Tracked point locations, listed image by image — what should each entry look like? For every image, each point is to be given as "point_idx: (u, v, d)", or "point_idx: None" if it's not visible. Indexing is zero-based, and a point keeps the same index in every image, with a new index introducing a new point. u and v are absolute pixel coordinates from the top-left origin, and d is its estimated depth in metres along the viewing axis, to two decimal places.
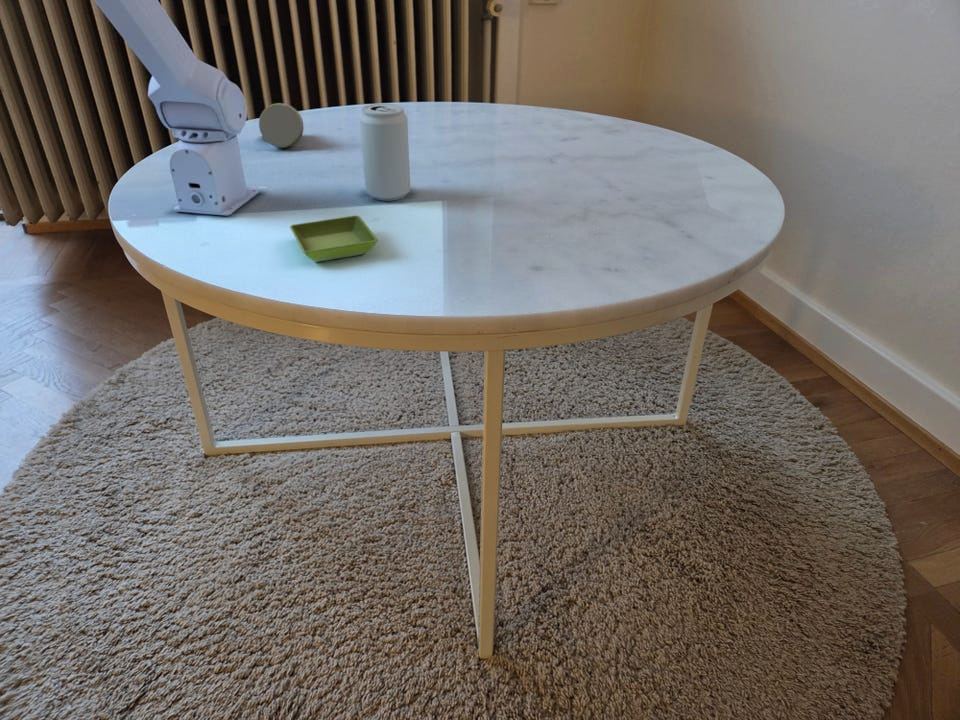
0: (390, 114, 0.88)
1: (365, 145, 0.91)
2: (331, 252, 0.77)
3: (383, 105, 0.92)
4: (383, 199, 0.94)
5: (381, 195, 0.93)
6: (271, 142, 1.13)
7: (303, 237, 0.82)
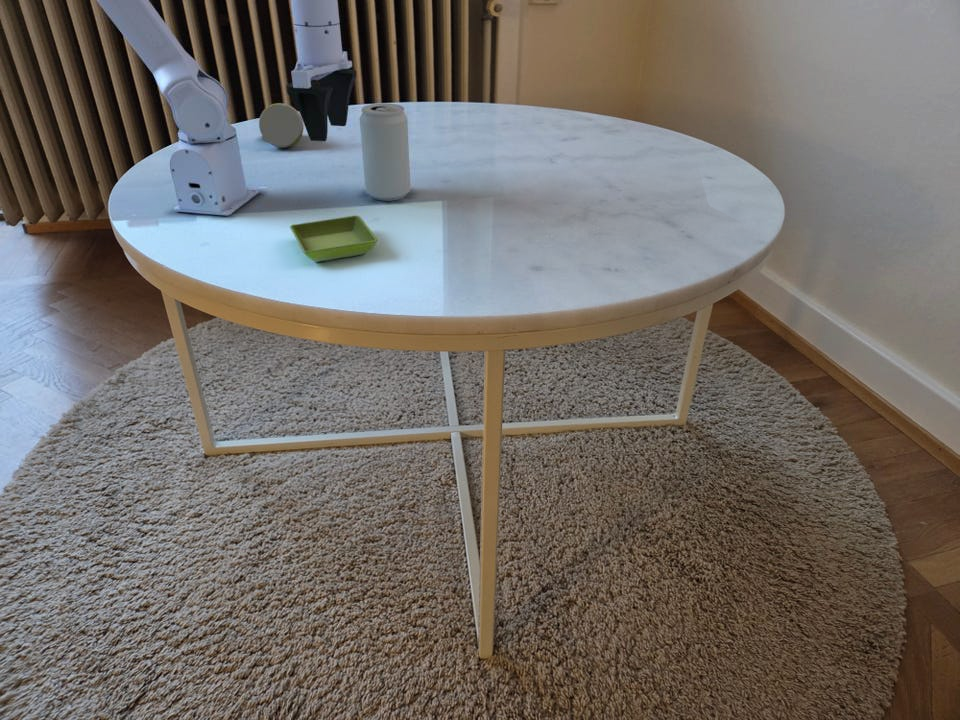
0: (390, 114, 0.88)
1: (365, 145, 0.91)
2: (331, 252, 0.77)
3: (383, 105, 0.92)
4: (383, 199, 0.94)
5: (381, 195, 0.93)
6: (271, 142, 1.13)
7: (303, 237, 0.82)
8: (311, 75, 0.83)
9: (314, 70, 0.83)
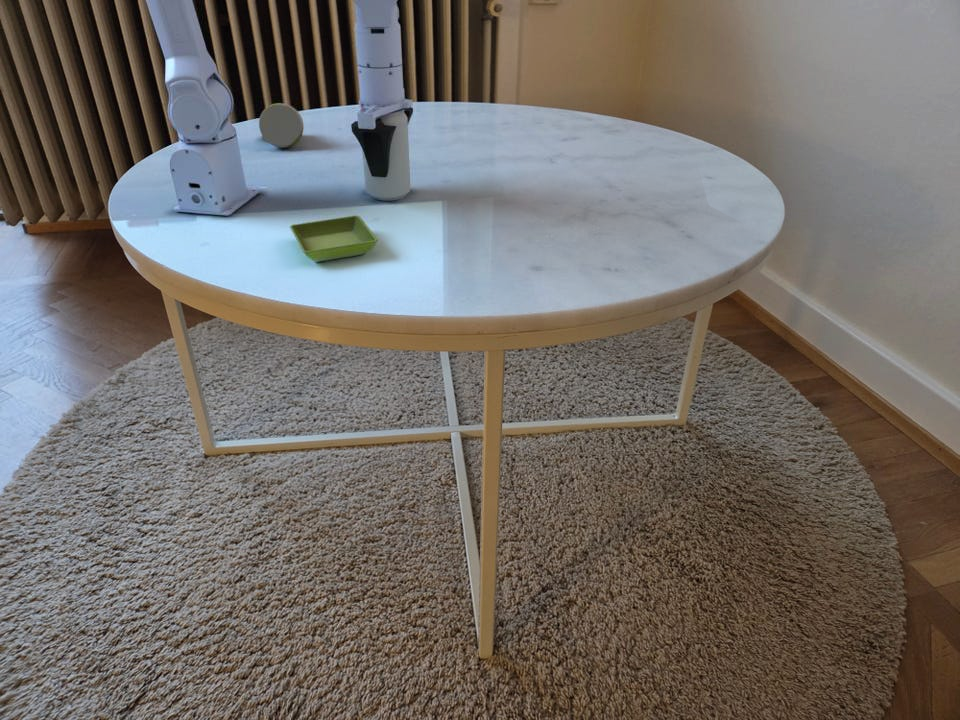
0: (390, 114, 0.88)
1: None
2: (331, 252, 0.77)
3: None
4: (383, 199, 0.94)
5: (381, 195, 0.94)
6: (271, 142, 1.13)
7: (303, 237, 0.82)
8: (376, 116, 0.85)
9: (378, 111, 0.85)
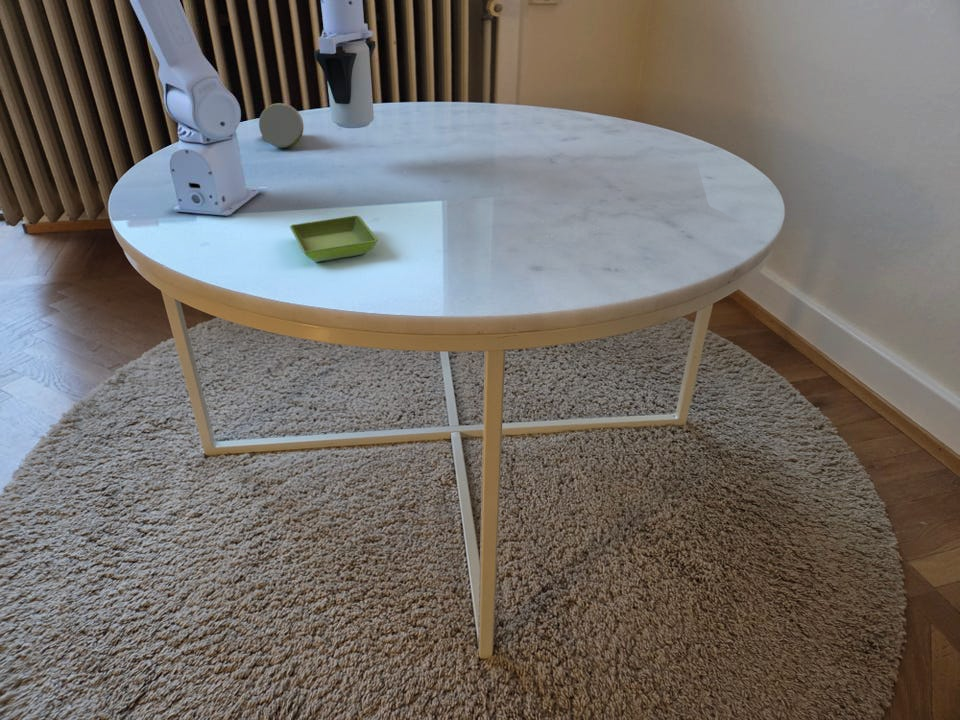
0: (351, 43, 0.95)
1: None
2: (331, 252, 0.77)
3: None
4: (347, 126, 1.01)
5: (345, 122, 1.00)
6: (271, 142, 1.13)
7: (303, 237, 0.82)
8: (336, 42, 0.91)
9: (339, 37, 0.91)
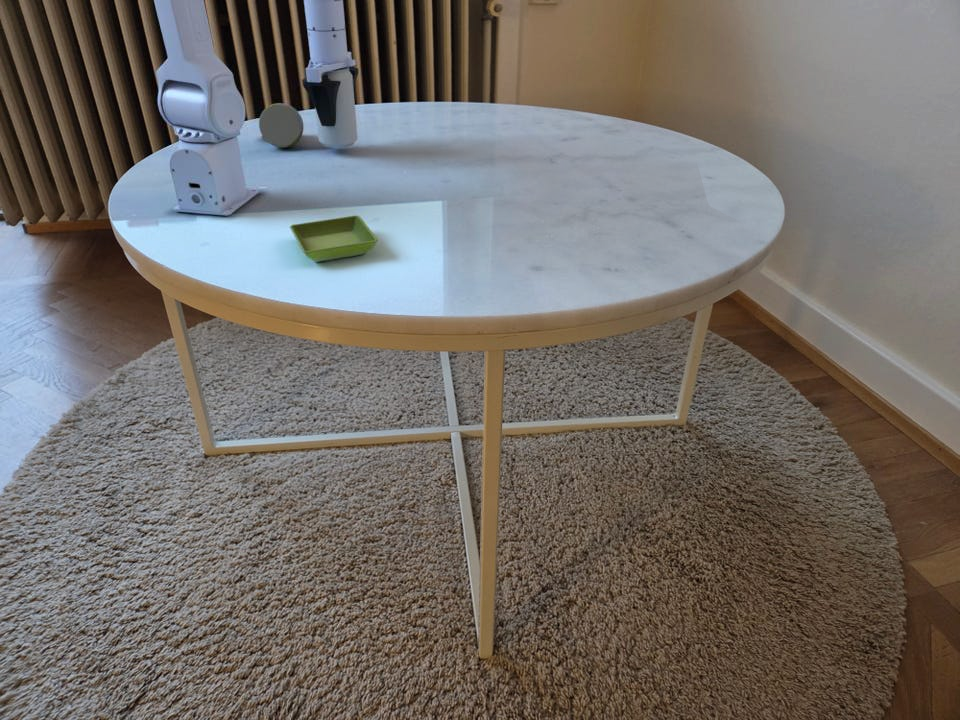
0: (336, 71, 1.04)
1: None
2: (331, 252, 0.77)
3: None
4: (333, 146, 1.10)
5: (331, 142, 1.10)
6: (271, 142, 1.13)
7: (303, 237, 0.82)
8: (322, 71, 1.01)
9: (324, 67, 1.01)
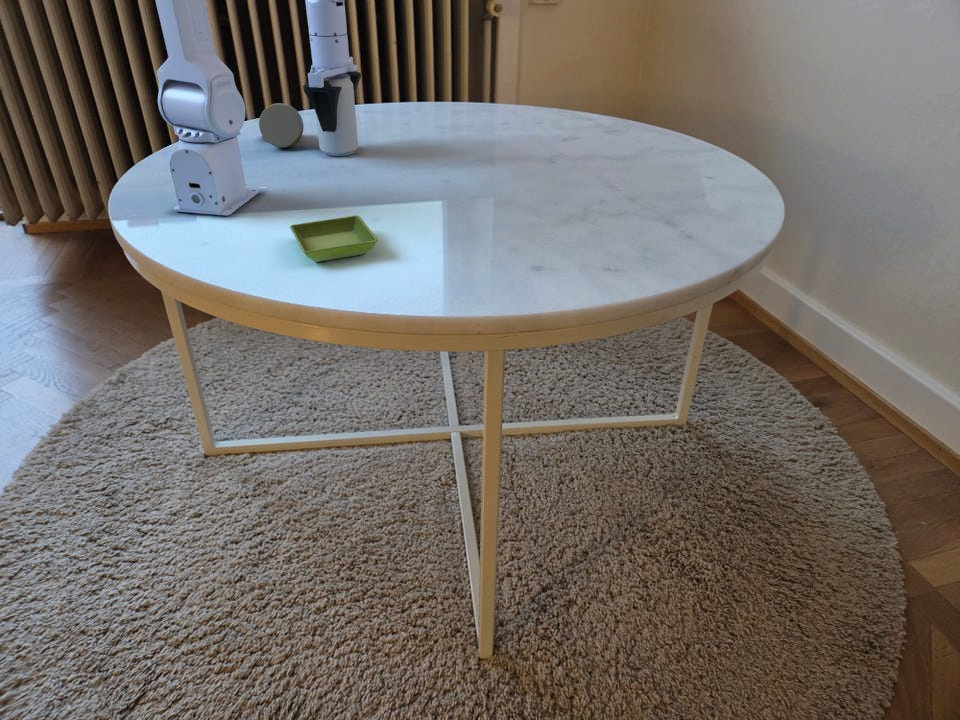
0: (337, 80, 1.05)
1: None
2: (331, 252, 0.77)
3: None
4: (334, 154, 1.11)
5: (332, 151, 1.10)
6: (271, 142, 1.13)
7: (303, 237, 0.82)
8: (324, 77, 1.01)
9: (326, 72, 1.01)
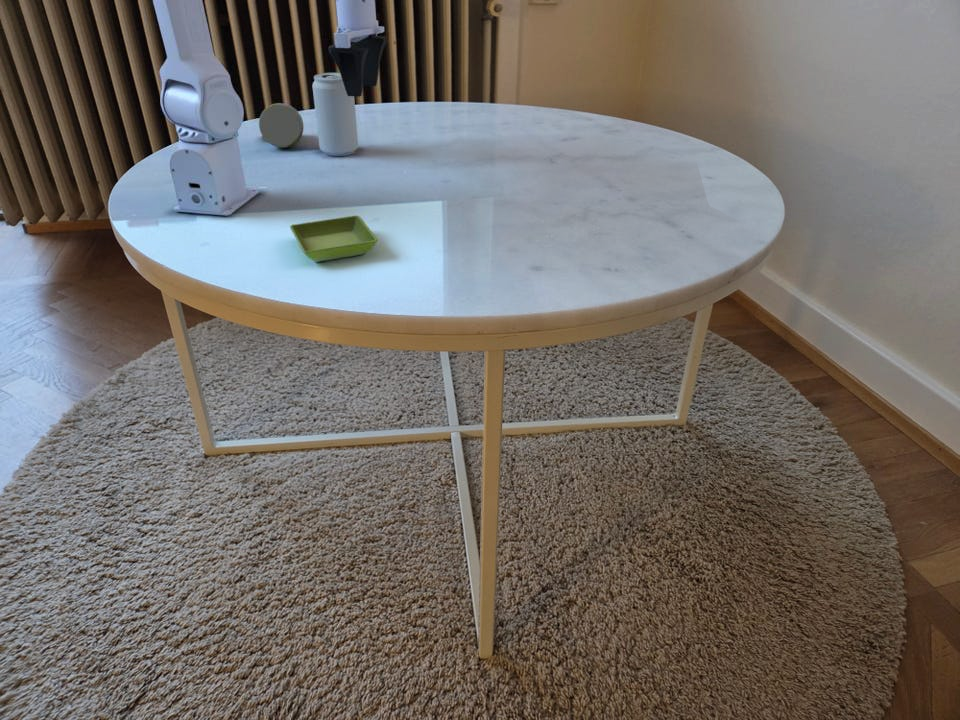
0: (337, 80, 1.05)
1: (317, 107, 1.07)
2: (331, 252, 0.77)
3: (333, 74, 1.08)
4: (334, 154, 1.11)
5: (332, 151, 1.10)
6: (271, 142, 1.13)
7: (303, 237, 0.82)
8: (351, 37, 0.97)
9: (353, 32, 0.97)
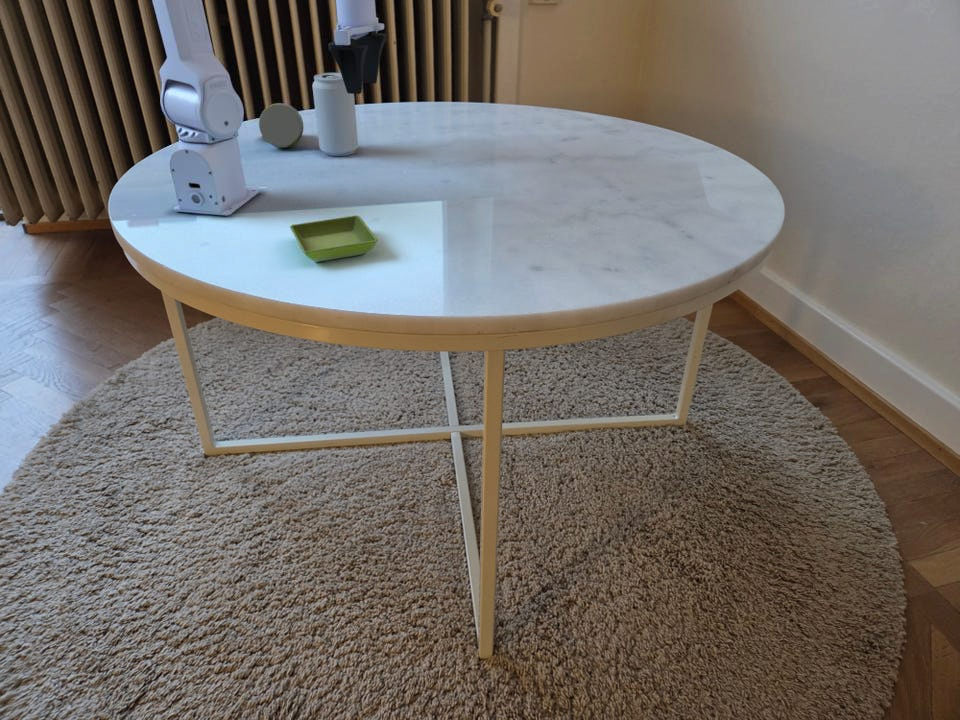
0: (337, 80, 1.05)
1: (317, 107, 1.07)
2: (331, 252, 0.77)
3: (333, 74, 1.08)
4: (334, 154, 1.11)
5: (332, 151, 1.10)
6: (271, 142, 1.13)
7: (303, 237, 0.82)
8: (351, 34, 0.97)
9: (353, 29, 0.97)
